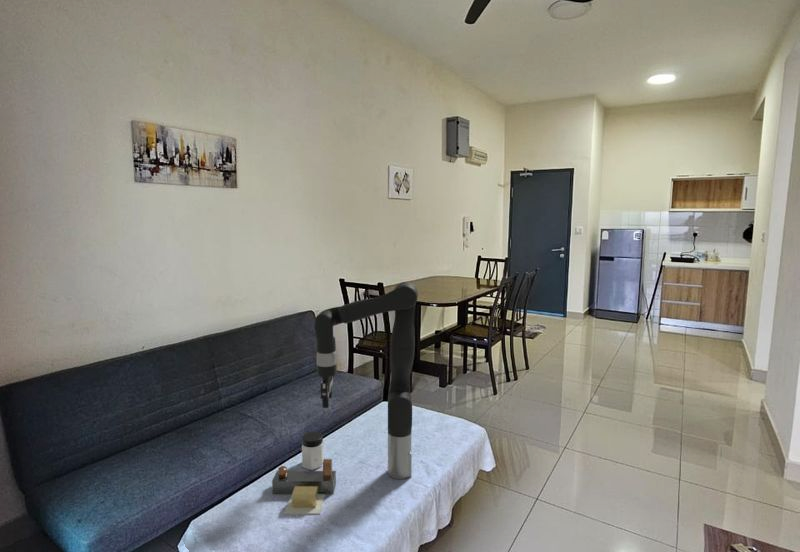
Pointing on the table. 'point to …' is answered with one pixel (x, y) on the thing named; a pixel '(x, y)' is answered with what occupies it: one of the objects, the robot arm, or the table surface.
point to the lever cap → (305, 497)
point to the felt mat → (306, 510)
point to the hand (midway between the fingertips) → (327, 402)
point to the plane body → (305, 479)
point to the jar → (312, 450)
